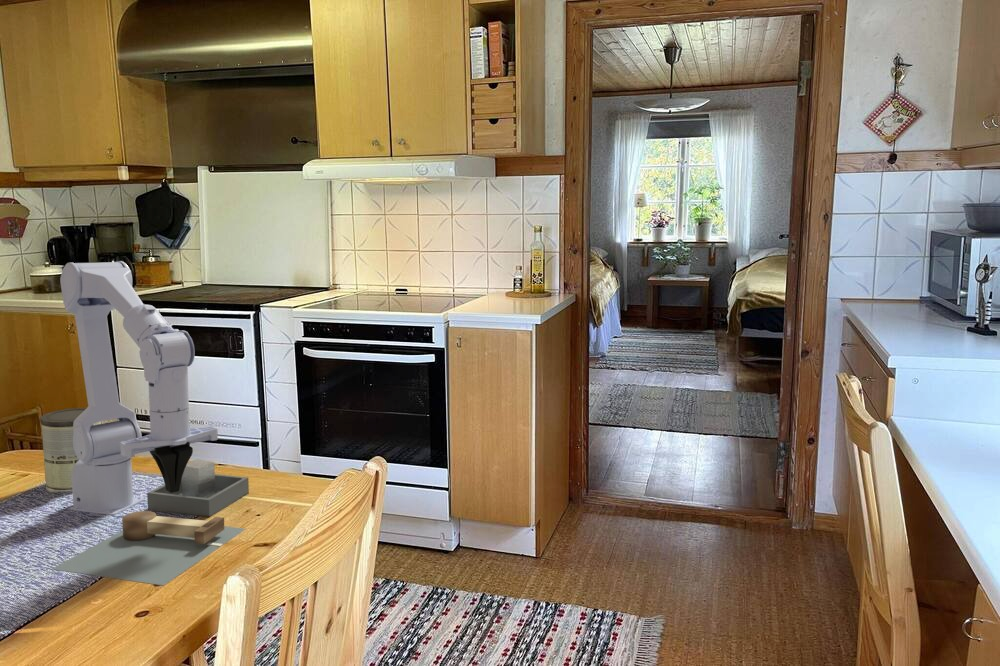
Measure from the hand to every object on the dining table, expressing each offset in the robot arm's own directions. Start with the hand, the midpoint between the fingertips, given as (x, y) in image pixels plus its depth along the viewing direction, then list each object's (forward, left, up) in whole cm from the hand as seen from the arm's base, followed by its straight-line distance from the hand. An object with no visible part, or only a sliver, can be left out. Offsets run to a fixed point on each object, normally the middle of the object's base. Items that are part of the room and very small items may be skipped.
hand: (172, 490), depth 123 cm
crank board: (-1, -4, -9) cm, 9 cm away
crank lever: (-1, 0, -8) cm, 8 cm away
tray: (-6, +16, -9) cm, 19 cm away
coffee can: (-35, +18, -9) cm, 40 cm away
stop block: (-6, +15, -8) cm, 18 cm away
